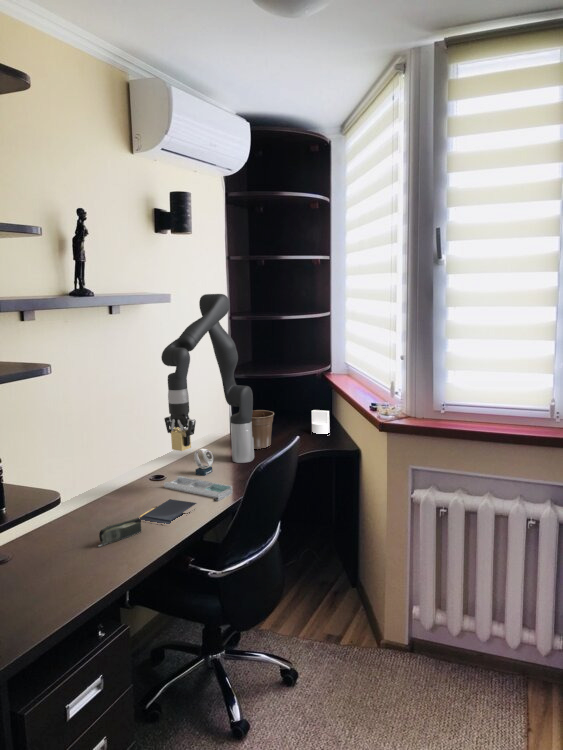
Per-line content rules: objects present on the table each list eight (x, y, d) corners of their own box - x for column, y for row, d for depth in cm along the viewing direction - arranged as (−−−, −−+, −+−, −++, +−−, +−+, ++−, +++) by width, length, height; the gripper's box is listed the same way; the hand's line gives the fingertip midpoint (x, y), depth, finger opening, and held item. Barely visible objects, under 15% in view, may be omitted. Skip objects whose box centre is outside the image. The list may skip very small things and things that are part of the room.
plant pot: (281, 443, 278) (280, 411, 276) (265, 452, 264) (263, 418, 262) (252, 440, 286) (250, 408, 283) (234, 449, 272) (233, 415, 269)
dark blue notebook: (169, 523, 185) (132, 516, 192) (169, 528, 186) (132, 521, 192) (203, 501, 203) (168, 495, 210) (204, 506, 203) (169, 500, 210)
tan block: (181, 446, 221) (180, 428, 220) (191, 447, 218) (189, 429, 217) (172, 449, 217) (170, 431, 216) (182, 451, 214) (180, 432, 213)
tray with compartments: (179, 483, 227) (178, 475, 226) (232, 493, 213) (232, 485, 213) (164, 489, 220) (163, 482, 219) (218, 501, 206) (217, 493, 206)
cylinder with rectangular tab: (309, 435, 292) (308, 412, 290) (315, 431, 300) (314, 408, 298) (326, 436, 288) (325, 413, 286) (332, 432, 296) (331, 409, 295)
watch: (208, 478, 231) (207, 452, 229) (192, 476, 235) (190, 450, 233) (216, 474, 236) (215, 448, 234) (200, 472, 239) (199, 446, 238)
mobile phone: (137, 515, 183) (93, 530, 173) (142, 518, 181) (98, 532, 171) (138, 530, 184) (94, 545, 173) (143, 533, 182) (99, 548, 171)
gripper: (199, 400, 214) (202, 444, 217) (171, 397, 222) (174, 440, 224) (186, 404, 208) (189, 450, 210) (157, 401, 216) (160, 445, 218)
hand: (181, 444), depth 217 cm, fingers closed on tan block, 5 cm apart
